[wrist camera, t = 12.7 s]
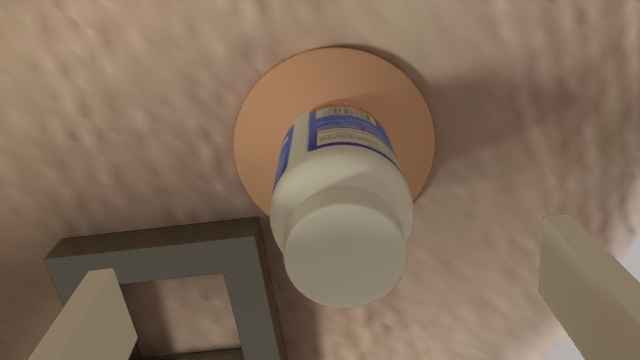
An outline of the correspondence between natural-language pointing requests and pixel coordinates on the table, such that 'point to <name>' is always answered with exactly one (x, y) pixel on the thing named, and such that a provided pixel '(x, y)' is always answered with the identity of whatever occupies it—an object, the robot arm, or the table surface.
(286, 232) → the pill bottle
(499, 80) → the table surface
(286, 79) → the coaster
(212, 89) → the table surface
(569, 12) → the table surface
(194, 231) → the socket plate
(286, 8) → the table surface
